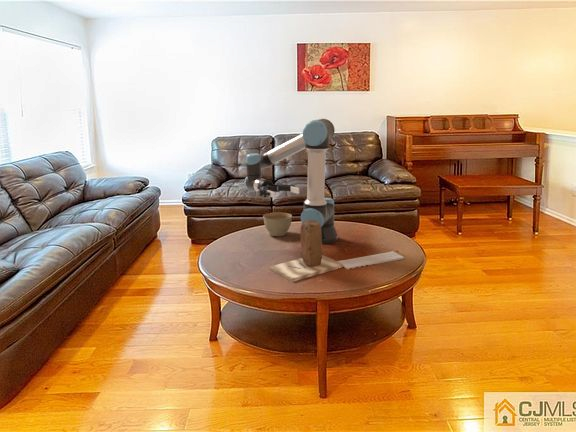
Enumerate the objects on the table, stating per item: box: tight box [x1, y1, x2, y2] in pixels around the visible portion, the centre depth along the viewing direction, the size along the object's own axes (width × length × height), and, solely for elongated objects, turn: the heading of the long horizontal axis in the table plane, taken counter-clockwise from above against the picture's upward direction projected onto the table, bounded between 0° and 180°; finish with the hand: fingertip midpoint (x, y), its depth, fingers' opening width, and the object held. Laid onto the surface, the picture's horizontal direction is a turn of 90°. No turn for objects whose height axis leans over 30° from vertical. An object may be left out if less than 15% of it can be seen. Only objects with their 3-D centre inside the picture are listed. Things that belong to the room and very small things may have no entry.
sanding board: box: [269, 254, 343, 283], centre depth 211 cm, size 28×18×2 cm, turn 123°
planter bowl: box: [262, 212, 293, 237], centre depth 262 cm, size 16×16×11 cm
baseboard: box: [336, 250, 405, 270], centre depth 219 cm, size 31×3×12 cm
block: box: [300, 220, 323, 266], centre depth 211 cm, size 11×8×20 cm
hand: (286, 193), depth 219 cm, fingers open, 13 cm apart
